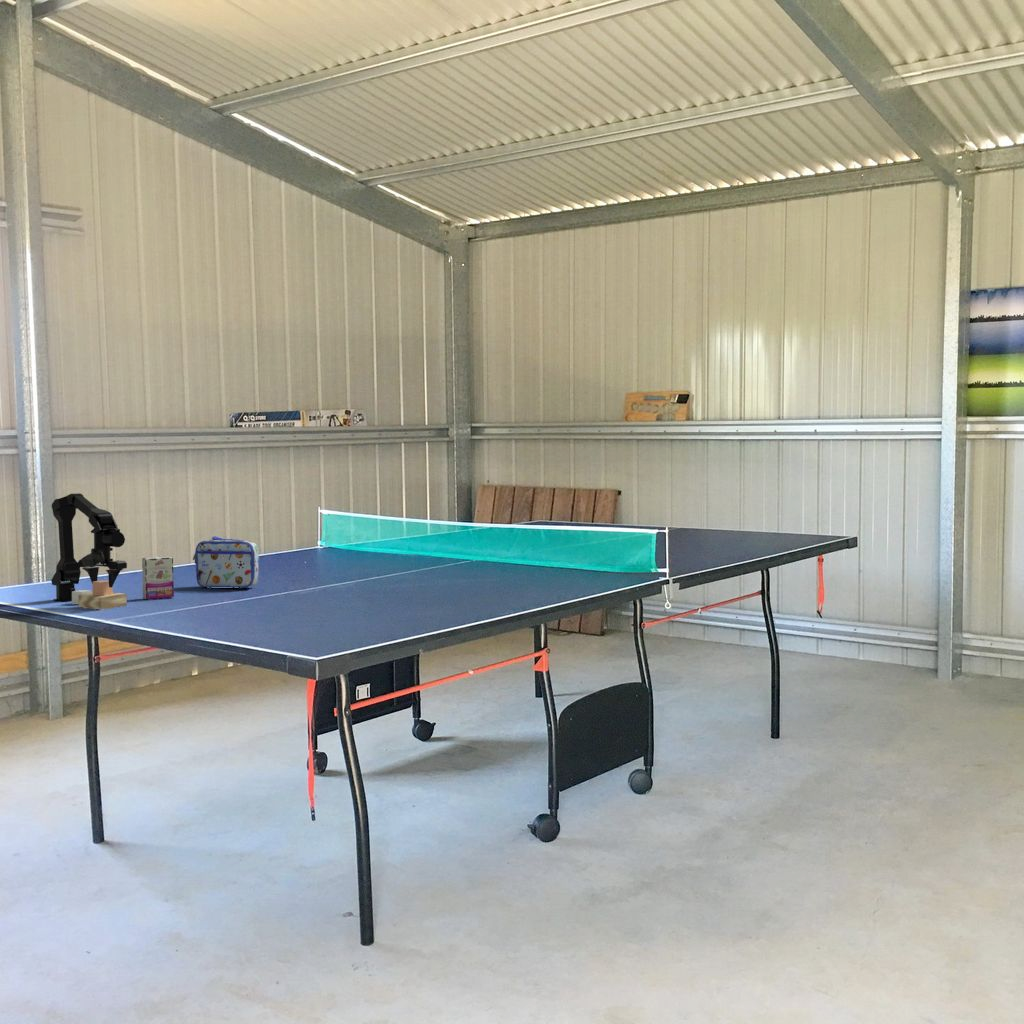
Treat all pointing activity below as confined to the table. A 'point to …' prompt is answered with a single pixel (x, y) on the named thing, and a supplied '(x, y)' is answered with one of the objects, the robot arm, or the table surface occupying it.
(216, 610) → the table surface
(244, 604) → the table surface
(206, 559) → the lunch box
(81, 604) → the maple block
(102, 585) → the terracotta cube
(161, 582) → the candy bar box
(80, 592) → the white cube
